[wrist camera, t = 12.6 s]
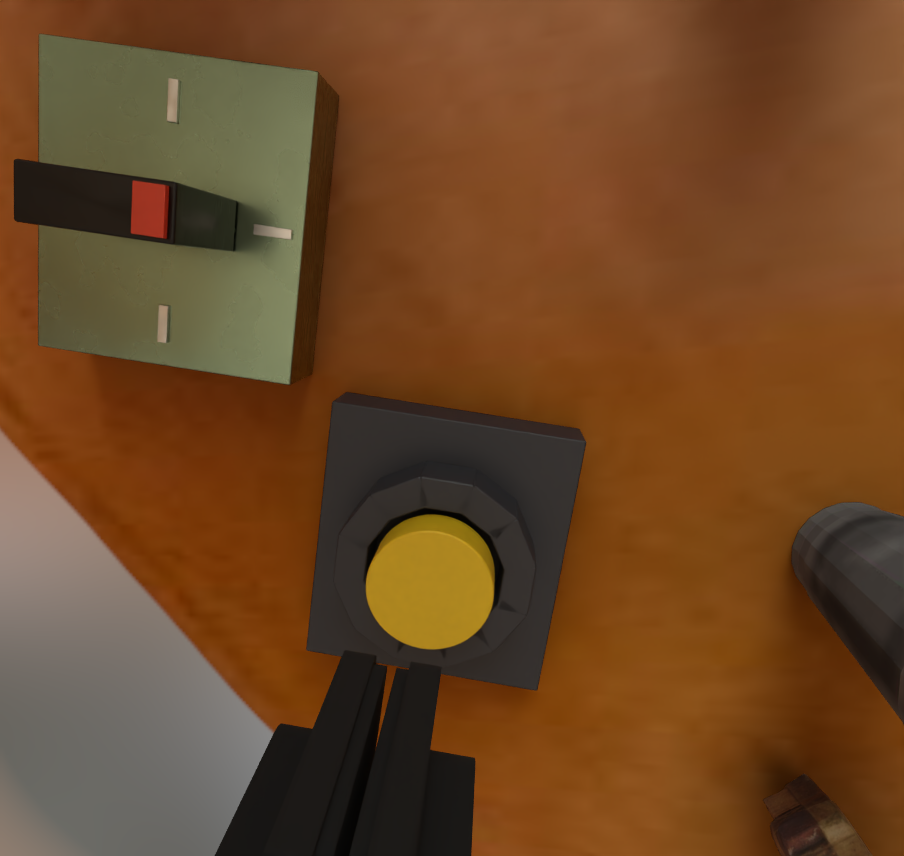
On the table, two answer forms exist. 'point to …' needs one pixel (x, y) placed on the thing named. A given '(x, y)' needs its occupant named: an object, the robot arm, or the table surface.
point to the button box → (454, 495)
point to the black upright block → (122, 206)
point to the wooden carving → (811, 823)
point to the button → (431, 582)
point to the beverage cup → (859, 586)
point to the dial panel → (203, 167)
